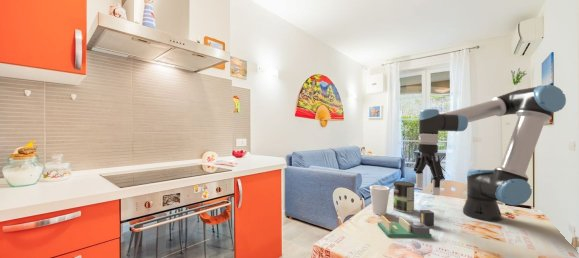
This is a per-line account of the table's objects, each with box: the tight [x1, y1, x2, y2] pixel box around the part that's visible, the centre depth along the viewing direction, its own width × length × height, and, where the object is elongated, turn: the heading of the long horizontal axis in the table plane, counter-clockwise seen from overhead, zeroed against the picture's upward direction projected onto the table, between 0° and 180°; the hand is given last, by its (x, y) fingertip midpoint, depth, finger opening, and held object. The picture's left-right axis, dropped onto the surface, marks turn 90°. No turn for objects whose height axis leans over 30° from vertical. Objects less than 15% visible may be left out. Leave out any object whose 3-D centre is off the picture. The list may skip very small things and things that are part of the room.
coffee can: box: [392, 180, 416, 214], centre depth 131 cm, size 10×10×14 cm
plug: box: [419, 209, 435, 227], centre depth 110 cm, size 4×4×6 cm
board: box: [377, 215, 432, 238], centre depth 103 cm, size 17×12×5 cm
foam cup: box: [369, 184, 391, 216], centre depth 126 cm, size 10×9×13 cm
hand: (427, 191), depth 110 cm, fingers open, 13 cm apart
